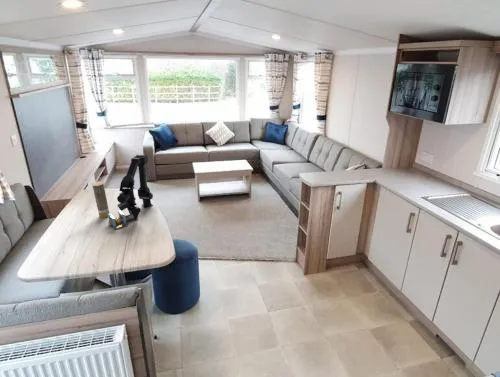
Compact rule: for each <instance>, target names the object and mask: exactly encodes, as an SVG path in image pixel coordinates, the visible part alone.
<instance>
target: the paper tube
mask: <svg viewBox="0 0 500 377" xmlns="http://www.w3.org/2000/svg"><path fill="white" fill-rule="evenodd" d="M92 189H93V190H92V191H93V194H94V198H95V203H96V207H97V211H98V216H99V218H102V219H105V218H107V217H108V213H110V209H109V205H108V201H107V200H108V199H107V194H106V189H105V186H104V182H103V181H94V182H93V183H92ZM108 218H109V217H108Z"/></svg>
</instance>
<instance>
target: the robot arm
mask: <svg viewBox="0 0 500 377" xmlns="http://www.w3.org/2000/svg"><path fill="white" fill-rule="evenodd" d="M130 161H131V162H130V164H129V167H128V169H127V172H126V175H125V176H123V178H122V179H121V182H120V184H119V194H118V196H117V198H116V200H117V202H118V204H117V207H118V209H119V210H121V211H122V212H123V211H124V210H126V209H127V211H128V213H129V215H130V214H133V217H134V221H136V220H137V219H138V218H137V217H139V214H140V213H141V212H142V210H141V208H140V207H139V205H138V206H137V203H136V197H135V192H134V189H135V175H136V173H137V169H138V178H139V188H138V189H137V196H138V198H139V200H142V204H141V206H142V207H143V208H144V209H148V208H150V207H153V206H154V204H152V200H153V197H154V194H153V193H152V192H151V190H150V188H149V186H148V180H147V168H146V167H147V165H148V164H149V163H148V162H149V157H148V156H147V155H146V154H136V155H134V156H133V157H131V159H130Z"/></svg>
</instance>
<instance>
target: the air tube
mask: <svg viewBox="0 0 500 377" xmlns="http://www.w3.org/2000/svg"><path fill="white" fill-rule="evenodd" d="M138 217H139V216H138ZM138 217H137V219H138ZM114 218H115V223H116V225H122V224H123V220H122V217H119V216H118V217H114ZM125 218H126V223H127V222H129V221H130V222H131V221H133V220H134V221H135V219H134V217H133V214H130V213H129V214H127V215H125ZM108 224H109V227H113V224H112V220H109V219H108Z"/></svg>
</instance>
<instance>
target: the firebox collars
mask: <svg viewBox="0 0 500 377" xmlns="http://www.w3.org/2000/svg"><path fill="white" fill-rule="evenodd" d="M117 213H118V218H119V217H122V220H123V223H122V224H118V226H117V224H116V223H115V218H116V217H114V216H113V214H112V213H111V212H109V213H108V221H109V220H112V224H113V226H112V228H113V229H114V231H116V230H120V229H123V228H126V227H128V223H127V222H126V218H125V216H126V215H125V214H124V213H123V210H122V211H121V210H120V209H119V210H117Z"/></svg>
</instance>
